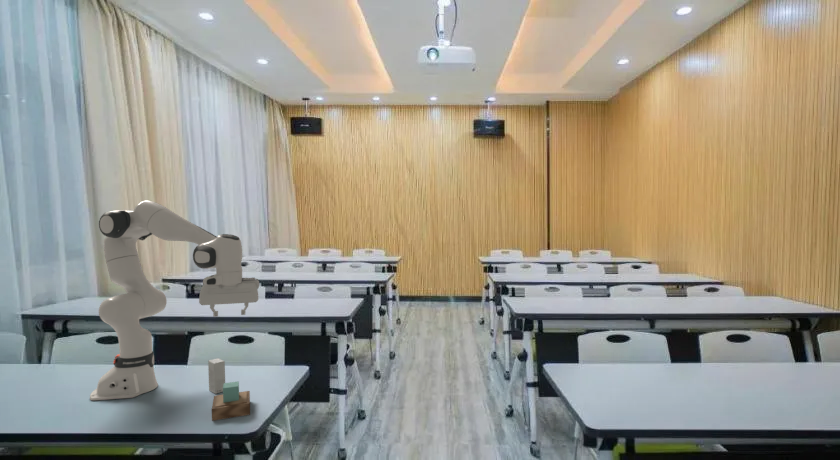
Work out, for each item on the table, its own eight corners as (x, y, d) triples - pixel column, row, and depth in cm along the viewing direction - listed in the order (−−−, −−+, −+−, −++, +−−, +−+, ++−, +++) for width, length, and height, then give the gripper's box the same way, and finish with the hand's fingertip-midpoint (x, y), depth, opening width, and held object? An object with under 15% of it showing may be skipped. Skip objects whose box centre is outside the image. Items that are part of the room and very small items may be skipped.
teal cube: (223, 402, 157) (222, 388, 157) (224, 397, 162) (223, 383, 162) (238, 400, 159) (238, 386, 159) (239, 394, 164) (238, 381, 163)
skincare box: (226, 391, 179) (225, 361, 178) (215, 394, 175) (214, 363, 175) (219, 387, 183) (218, 357, 182) (208, 390, 180) (207, 360, 179)
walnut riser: (212, 420, 153) (211, 408, 153) (214, 406, 164) (214, 394, 164) (250, 414, 157) (249, 402, 157) (249, 401, 168) (249, 389, 168)
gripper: (259, 276, 174) (259, 311, 175) (200, 278, 167) (200, 315, 168) (259, 278, 168) (259, 315, 169) (198, 280, 161) (198, 319, 162)
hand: (229, 315), depth 168 cm, fingers open, 8 cm apart
